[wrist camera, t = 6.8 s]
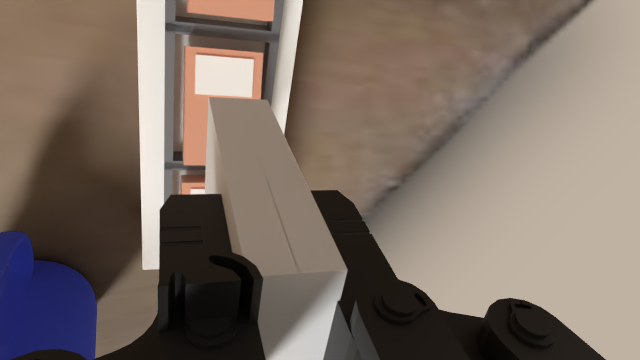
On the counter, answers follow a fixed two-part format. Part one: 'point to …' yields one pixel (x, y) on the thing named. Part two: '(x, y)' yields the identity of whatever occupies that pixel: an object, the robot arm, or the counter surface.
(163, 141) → the white rack
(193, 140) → the block
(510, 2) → the counter surface
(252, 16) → the orange rectangular block
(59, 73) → the counter surface
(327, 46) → the counter surface
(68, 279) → the mug
